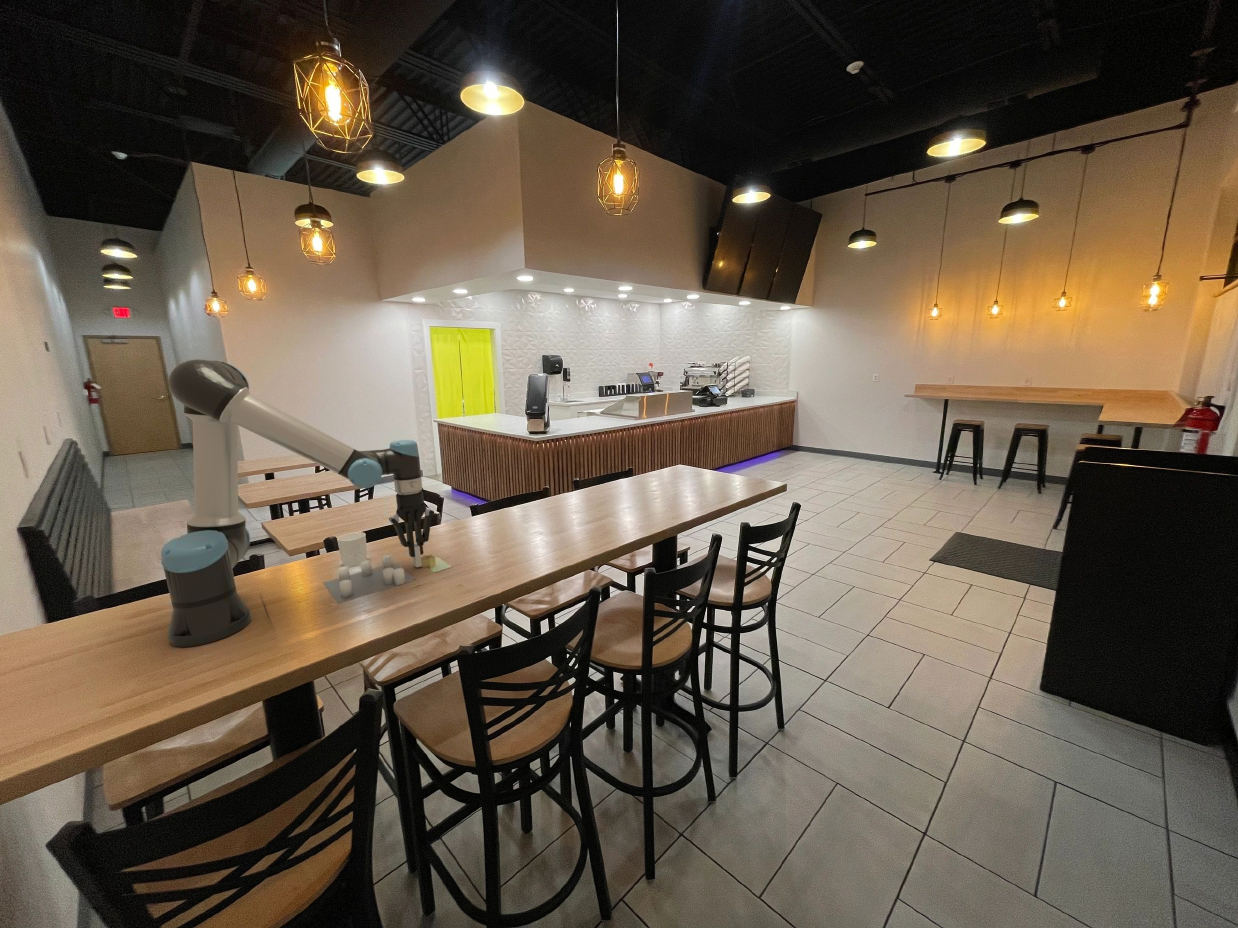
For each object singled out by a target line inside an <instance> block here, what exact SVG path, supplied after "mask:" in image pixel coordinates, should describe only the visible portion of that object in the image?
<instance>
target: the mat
mask: <svg viewBox="0 0 1238 928" xmlns="http://www.w3.org/2000/svg"><path fill="white" fill-rule="evenodd" d="M435 562H436V566H435V567H433V568H431V569H430V570H431V571H432V573H433V572H434V573H435V574H436V573H439V572H442V571H445V570H449V569H452V568H453V567H452V566H451V565H450V564H448V563H447V562H445V561H444V560H442V559H441V558H439V557H435Z"/></svg>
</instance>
